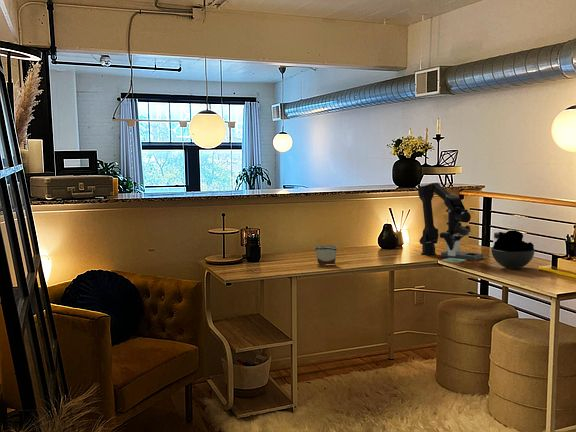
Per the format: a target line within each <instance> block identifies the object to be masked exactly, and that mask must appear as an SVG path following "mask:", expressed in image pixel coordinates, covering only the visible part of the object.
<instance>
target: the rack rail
mask: <svg viewBox="0 0 576 432" xmlns="http://www.w3.org/2000/svg"><path fill="white" fill-rule="evenodd" d="M440 257H441V258H444V259H447V258H455V259H463V260H466V261H469V260H471V262H475V260H476V261H479V260H481V259H482V260H483V259H484V253H480V252H472V251H462V250H460V255H458V256H449V255H448V253H446V250H445V251H441V252H440Z"/></svg>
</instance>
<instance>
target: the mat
mask: <svg viewBox="0 0 576 432" xmlns="http://www.w3.org/2000/svg"><path fill="white" fill-rule="evenodd" d="M441 261H442V262H448V263H449V262H450V263H457V264H458V263H462V262H466V261H467V260H463V259H455V258H444V259H441Z"/></svg>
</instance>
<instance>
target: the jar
mask: <svg viewBox="0 0 576 432" xmlns="http://www.w3.org/2000/svg"><path fill="white" fill-rule="evenodd" d="M499 232H500V231H498V232H494V233H493V239H492V241H493V242H492V247H493V246H494V242H495V241H497V239H498V238H499V237H500V236H499ZM501 232H502V233H503V234H504V233H506V232H503V231H501Z"/></svg>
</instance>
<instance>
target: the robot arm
mask: <svg viewBox="0 0 576 432" xmlns="http://www.w3.org/2000/svg"><path fill="white" fill-rule="evenodd" d="M417 192H418V198H419V199H420V200H421V202H422V213H423V219H424V220H423V221H424V228H423V230H422V235H421V237H420V239H419V241H418V242H419V244H420V245H422V246H421V247H422V248H421V249H422V252H421V253H420V255H424V256H434V255H437V253H436V244H438V240H439V239H443V240H445V242H446V243H447V244H448V247H449V249H450V250H452V249H453V241H454V240H460V241H461V239H463V238H464V237H465V236H469V233H471V232H472V231H471V226H470V225H464V226H463V225H462V223H467V224H468V223H469V222H470V220H471V218H472V216H471V214H470V212H468V209H466V208H465V205H464V203H463V202H462V199H461V197H459V196H457V195H454V194H451V193H450V192H449V191H447V189H445V188H444V187H443V186H442V185H440V183H438V182H431V183H429V184H425V185H420V186H419V187H418V189H417ZM434 193H435V194H436V195H437V196H438V198H441V199H442V200H443V203H444V205H445V207H446V208H447V209H446V210H445V212H446V213H448V214H447V222H446V225H447V229H446V231H443V232H440V233H439V229H438V228H437V227H436V226H435V224H434V222H435V221H434V215H433V214H434V213H433V206H432V205H433V204H432V203H433V201H432V200H433V198H434ZM446 243H445V244H446Z"/></svg>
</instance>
